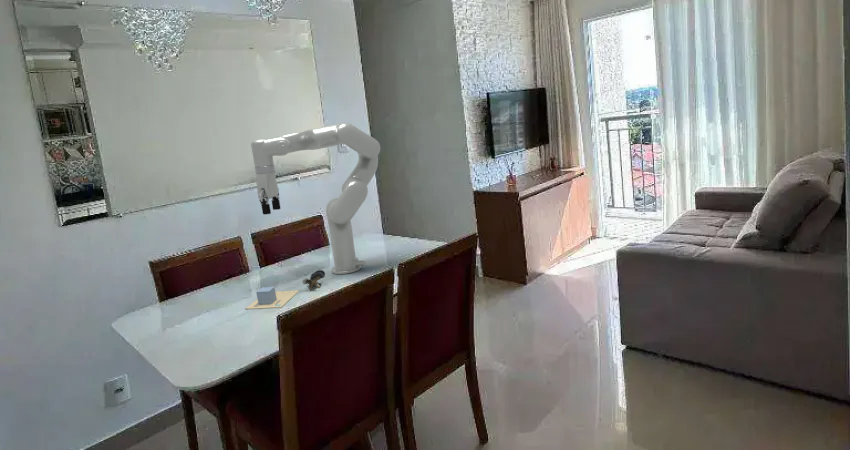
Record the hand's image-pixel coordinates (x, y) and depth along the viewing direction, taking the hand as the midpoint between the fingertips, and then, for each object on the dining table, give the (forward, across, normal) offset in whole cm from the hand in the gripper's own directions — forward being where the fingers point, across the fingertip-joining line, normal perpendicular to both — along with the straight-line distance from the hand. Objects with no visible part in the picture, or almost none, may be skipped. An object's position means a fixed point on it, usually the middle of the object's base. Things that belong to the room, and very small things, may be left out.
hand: (272, 211), depth 224 cm
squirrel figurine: (+31, +10, +18) cm, 37 cm away
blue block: (+30, +25, +4) cm, 39 cm away
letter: (+30, +22, +5) cm, 38 cm away
